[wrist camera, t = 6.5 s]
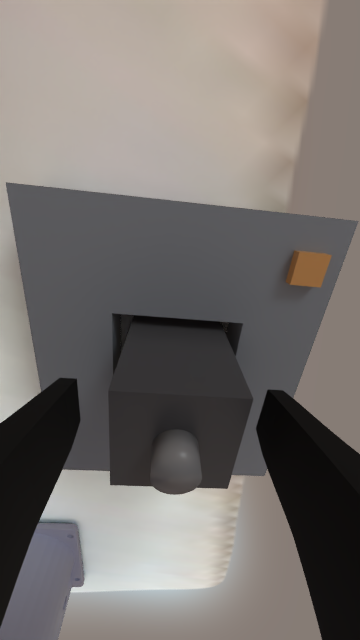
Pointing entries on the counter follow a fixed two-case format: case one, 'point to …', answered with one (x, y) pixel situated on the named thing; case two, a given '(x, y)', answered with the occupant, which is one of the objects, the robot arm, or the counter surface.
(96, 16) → the counter surface
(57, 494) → the counter surface
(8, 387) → the counter surface
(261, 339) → the plate
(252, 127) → the counter surface
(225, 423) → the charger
